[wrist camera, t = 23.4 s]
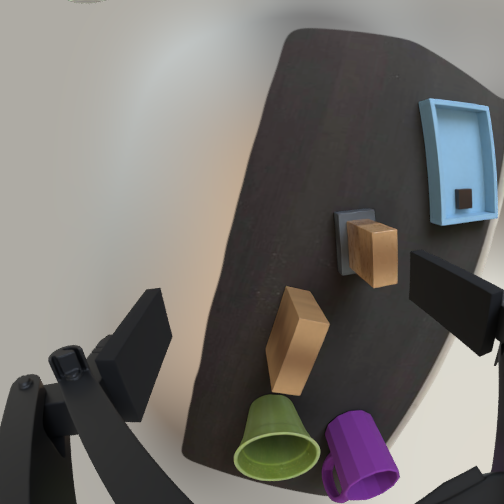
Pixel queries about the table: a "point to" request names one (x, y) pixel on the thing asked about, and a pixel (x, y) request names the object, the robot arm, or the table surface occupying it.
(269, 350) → the square wooden block
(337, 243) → the brush
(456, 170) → the pan
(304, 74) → the table surface
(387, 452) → the mug
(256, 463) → the plant pot
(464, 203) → the dark grey flat block
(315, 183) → the table surface
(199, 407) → the table surface
